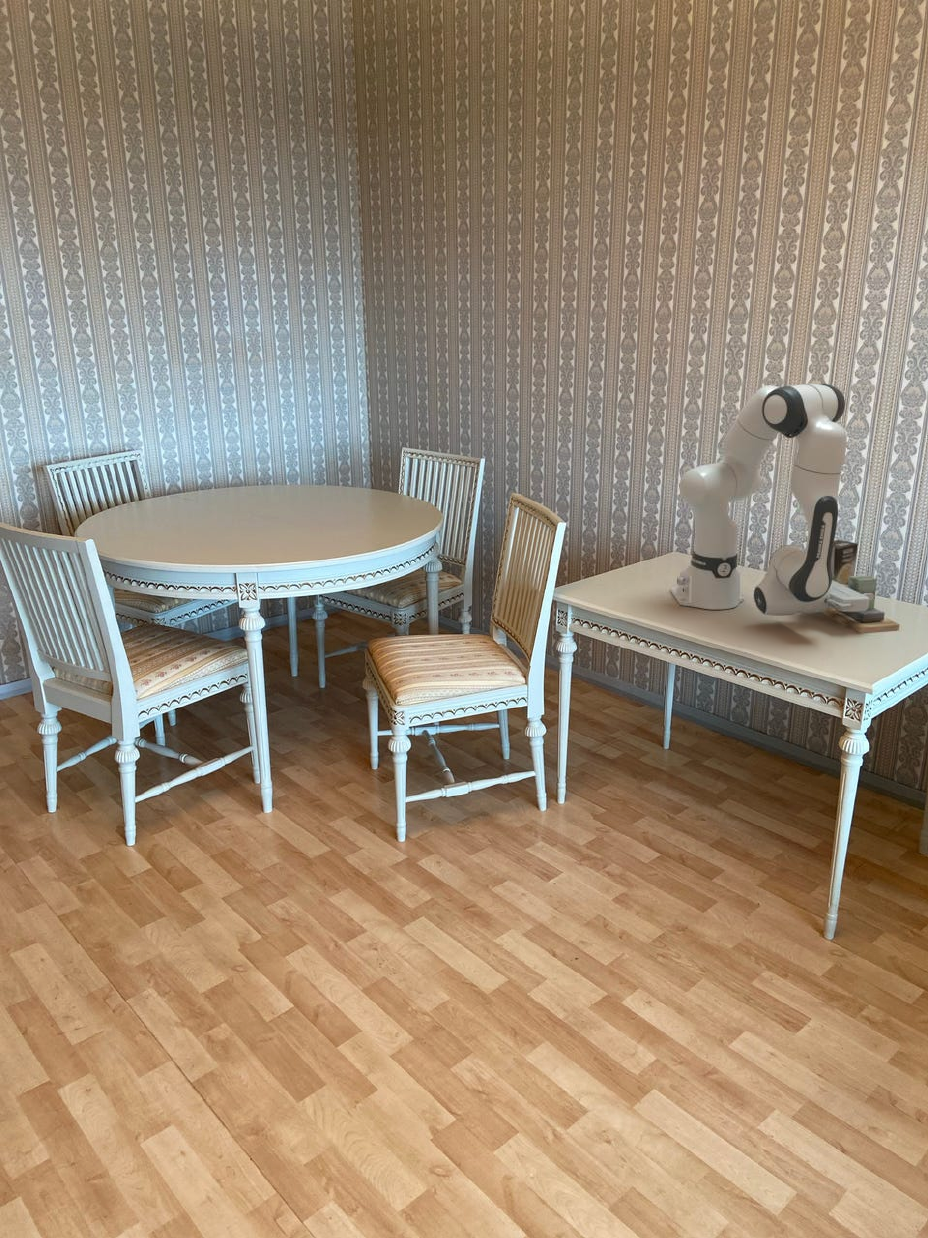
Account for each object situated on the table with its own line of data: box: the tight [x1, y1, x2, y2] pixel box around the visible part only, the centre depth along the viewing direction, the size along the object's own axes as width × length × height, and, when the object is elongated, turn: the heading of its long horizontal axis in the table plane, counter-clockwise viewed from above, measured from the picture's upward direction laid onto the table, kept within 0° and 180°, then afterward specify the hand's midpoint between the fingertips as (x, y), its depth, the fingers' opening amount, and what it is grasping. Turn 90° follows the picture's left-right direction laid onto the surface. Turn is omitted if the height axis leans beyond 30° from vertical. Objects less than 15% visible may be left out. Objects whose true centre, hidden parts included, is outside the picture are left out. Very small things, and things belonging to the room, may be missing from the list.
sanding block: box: [836, 574, 885, 622], centre depth 254 cm, size 12×6×10 cm, turn 13°
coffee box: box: [831, 539, 859, 585], centre depth 272 cm, size 9×6×16 cm
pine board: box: [822, 606, 901, 634], centre depth 258 cm, size 21×11×2 cm, turn 12°
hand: (864, 592), depth 255 cm, fingers open, 5 cm apart
